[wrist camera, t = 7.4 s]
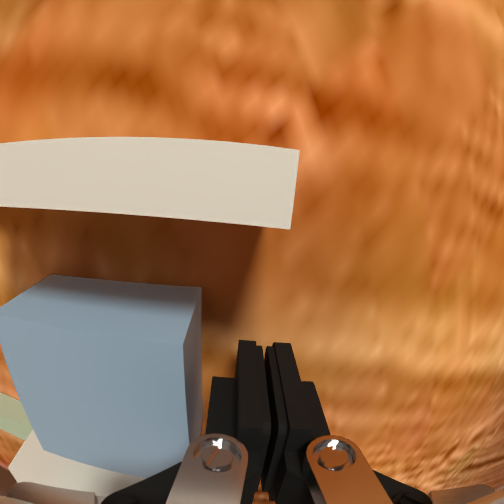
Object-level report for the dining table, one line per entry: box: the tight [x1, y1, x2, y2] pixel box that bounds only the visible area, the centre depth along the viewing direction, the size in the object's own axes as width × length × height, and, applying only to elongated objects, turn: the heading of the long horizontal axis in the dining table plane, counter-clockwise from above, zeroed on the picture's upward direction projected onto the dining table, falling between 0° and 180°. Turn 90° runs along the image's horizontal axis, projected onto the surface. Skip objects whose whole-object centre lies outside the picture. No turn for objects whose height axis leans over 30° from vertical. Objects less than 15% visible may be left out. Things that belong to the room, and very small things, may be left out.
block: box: [0, 274, 203, 478], centre depth 10 cm, size 6×6×4 cm
